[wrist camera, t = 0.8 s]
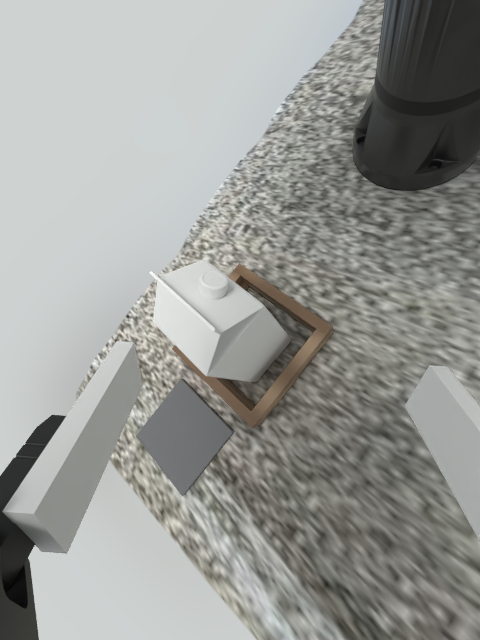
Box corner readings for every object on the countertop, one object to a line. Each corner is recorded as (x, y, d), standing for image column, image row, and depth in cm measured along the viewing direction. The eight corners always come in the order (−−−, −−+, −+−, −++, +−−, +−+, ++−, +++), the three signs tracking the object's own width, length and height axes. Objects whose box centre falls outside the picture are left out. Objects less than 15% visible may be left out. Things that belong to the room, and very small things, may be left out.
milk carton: (256, 383, 35) (178, 373, 17) (219, 347, 37) (119, 309, 20) (292, 340, 35) (250, 286, 17) (252, 308, 37) (180, 234, 20)
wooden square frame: (245, 273, 39) (236, 261, 35) (332, 333, 33) (332, 326, 30) (184, 350, 39) (169, 346, 35) (261, 424, 33) (252, 428, 30)
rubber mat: (183, 378, 38) (181, 378, 37) (234, 431, 34) (232, 432, 33) (138, 435, 38) (136, 435, 38) (184, 494, 34) (182, 496, 34)
